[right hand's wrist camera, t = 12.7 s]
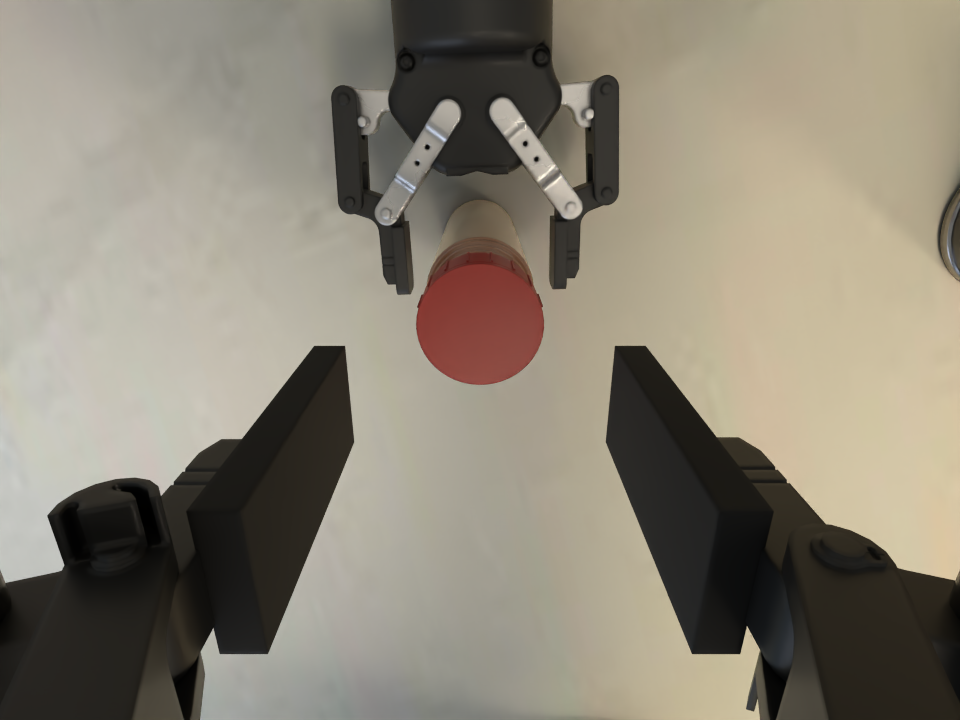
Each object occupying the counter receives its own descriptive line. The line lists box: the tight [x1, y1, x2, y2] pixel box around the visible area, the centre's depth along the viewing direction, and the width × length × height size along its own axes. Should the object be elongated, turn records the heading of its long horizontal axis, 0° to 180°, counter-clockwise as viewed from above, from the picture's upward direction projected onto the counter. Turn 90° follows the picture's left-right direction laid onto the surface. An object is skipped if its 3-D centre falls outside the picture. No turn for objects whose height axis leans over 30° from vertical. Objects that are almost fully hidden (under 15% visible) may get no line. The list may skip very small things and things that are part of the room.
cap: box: [416, 252, 544, 385], centre depth 20 cm, size 4×4×2 cm
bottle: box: [427, 200, 533, 284], centre depth 28 cm, size 4×4×18 cm
